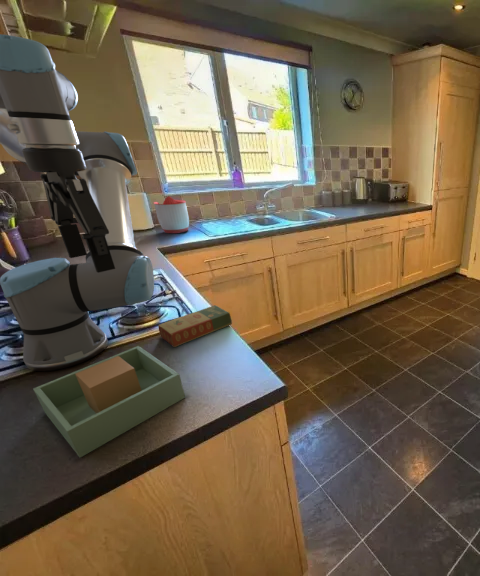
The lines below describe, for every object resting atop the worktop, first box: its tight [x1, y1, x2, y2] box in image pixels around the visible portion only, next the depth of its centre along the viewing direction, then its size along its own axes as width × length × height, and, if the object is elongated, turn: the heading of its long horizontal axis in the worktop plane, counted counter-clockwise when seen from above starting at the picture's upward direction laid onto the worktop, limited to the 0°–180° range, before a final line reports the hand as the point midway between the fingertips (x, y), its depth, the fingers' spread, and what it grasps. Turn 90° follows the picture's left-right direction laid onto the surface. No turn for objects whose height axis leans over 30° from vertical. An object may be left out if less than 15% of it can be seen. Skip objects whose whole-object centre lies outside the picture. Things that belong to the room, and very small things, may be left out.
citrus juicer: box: [153, 196, 190, 235], centre depth 186 cm, size 16×17×20 cm
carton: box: [157, 304, 233, 348], centre depth 92 cm, size 8×16×4 cm, turn 143°
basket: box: [32, 345, 186, 458], centre depth 65 cm, size 18×18×6 cm
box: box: [75, 356, 142, 414], centre depth 64 cm, size 7×7×8 cm
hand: (91, 263), depth 65 cm, fingers open, 13 cm apart
